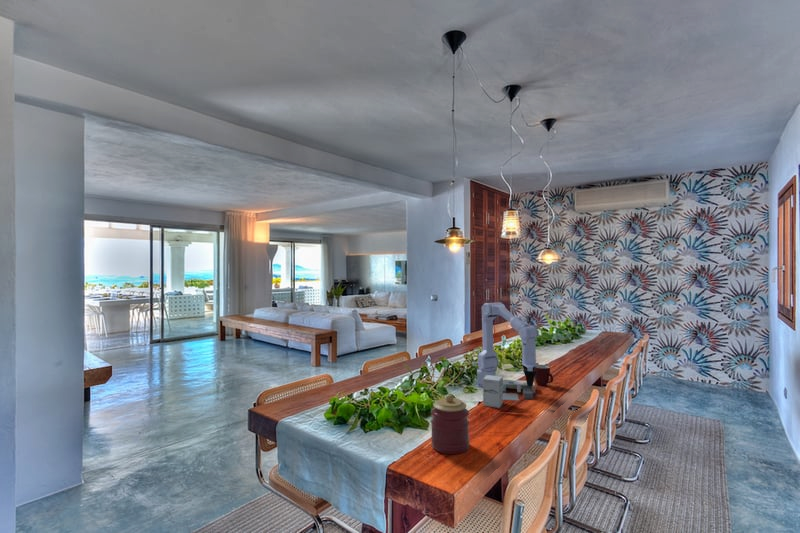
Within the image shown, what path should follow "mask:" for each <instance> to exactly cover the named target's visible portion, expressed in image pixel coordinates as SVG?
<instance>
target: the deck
mask: <svg viewBox="0 0 800 533" xmlns="http://www.w3.org/2000/svg"><path fill="white" fill-rule="evenodd" d="M503 401H517V402H519V401H520V399H519V395H518V393H512V392H503Z"/></svg>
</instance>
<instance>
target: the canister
mask: <svg viewBox="0 0 800 533" xmlns="http://www.w3.org/2000/svg"><path fill="white" fill-rule="evenodd" d="M432 405H433V407H432V408H431V409H430V414H431V415H432V416H431V417H432V418H431V419H430V423H431V438H430V440H431V442H430V443H431V446H432V448H433V449H434V450H435V451H436V452H438V453H441V454H446V455H459V454H463V453H465V452H466V451H468V449H469V447H470V438H469V436H470V432H469V431H470V430H469V429H470V428H469V425H470V421H469V419H468V416H469V414H470V412H469V410H468V409H467V404H466V403H465V402H464V401H463V400H461V399H459V398H456V397H454V396H453V395H452V394H450V393H448V394H447V395H446V396H445V397H441V398H439V399H438V400H435V401H434V402H433V404H432Z"/></svg>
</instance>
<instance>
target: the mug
mask: <svg viewBox="0 0 800 533" xmlns="http://www.w3.org/2000/svg"><path fill="white" fill-rule="evenodd" d="M534 371H537V372H536V374H535V377H534V382H535V383H536V385H537V386H538V387H546V386H547V385H548V384H552V383H553V381H554V376H553V374H552V373H551V367H550V366H549V365H546V364H539V365H536V366H535V368H534Z"/></svg>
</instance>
